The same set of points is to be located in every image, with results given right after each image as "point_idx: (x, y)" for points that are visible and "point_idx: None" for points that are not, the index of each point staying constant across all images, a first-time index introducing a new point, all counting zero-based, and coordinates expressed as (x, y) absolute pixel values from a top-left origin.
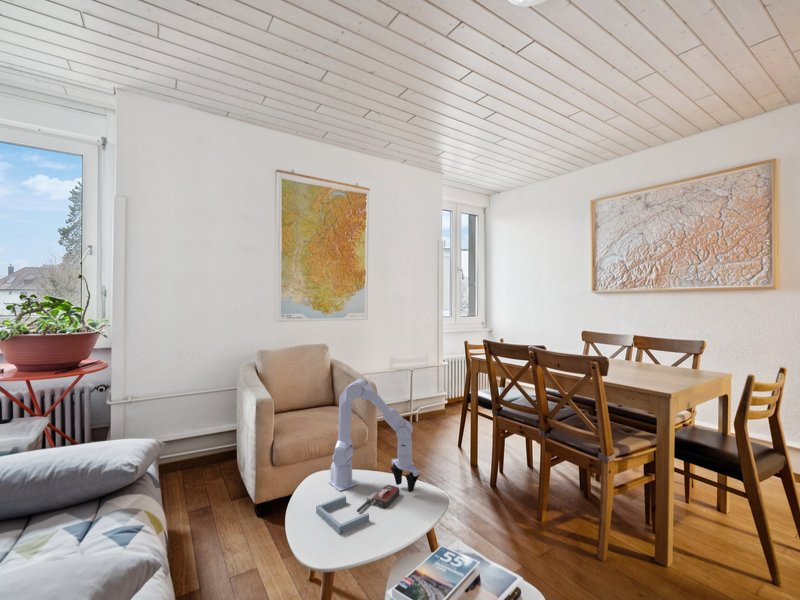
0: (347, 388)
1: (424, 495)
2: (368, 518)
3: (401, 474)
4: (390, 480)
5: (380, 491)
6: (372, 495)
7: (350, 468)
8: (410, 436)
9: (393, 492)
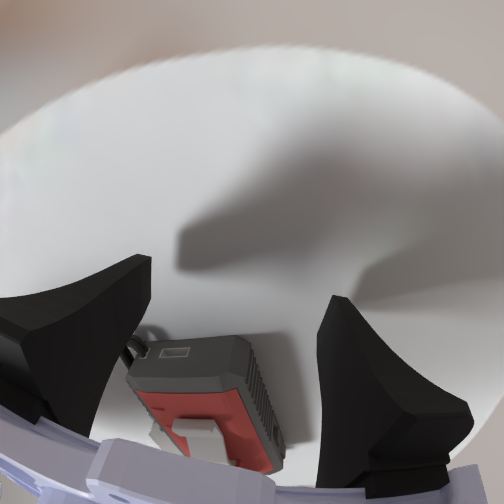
0: None
1: (430, 233)
2: None
3: (102, 300)
4: (35, 209)
5: None
6: (170, 448)
7: None
8: None
9: (247, 425)
